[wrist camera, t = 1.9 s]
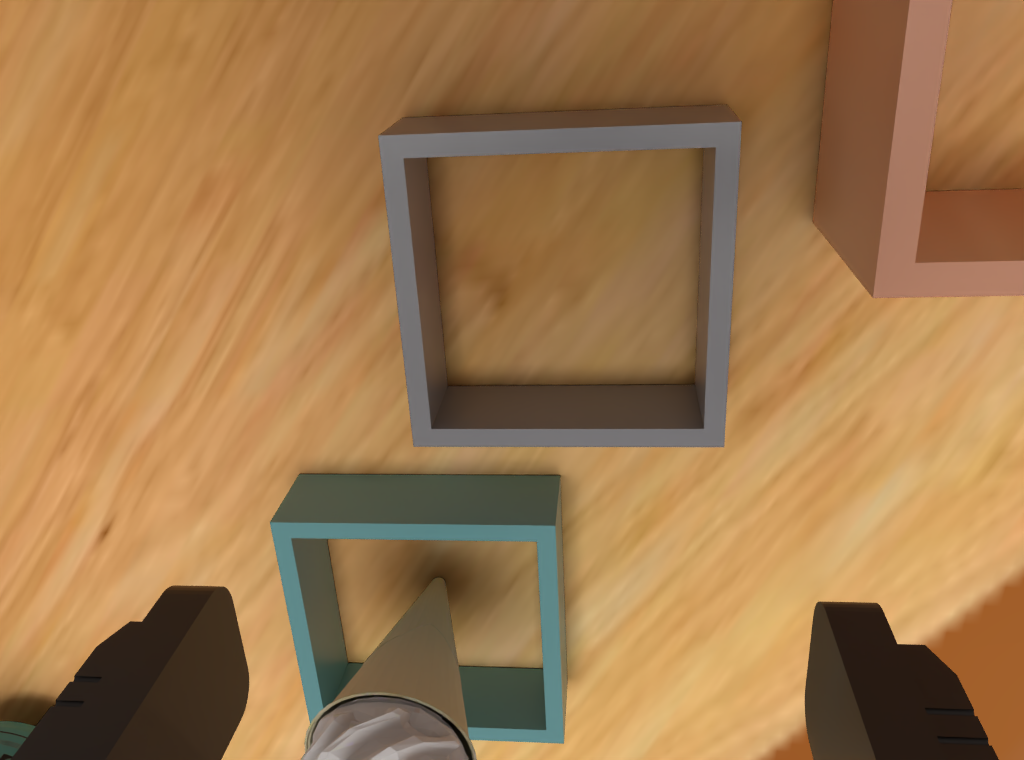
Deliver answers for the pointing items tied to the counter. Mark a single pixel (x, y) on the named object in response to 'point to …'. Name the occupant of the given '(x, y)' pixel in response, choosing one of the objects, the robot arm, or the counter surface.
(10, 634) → the counter surface
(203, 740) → the robot arm
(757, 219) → the counter surface
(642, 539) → the counter surface
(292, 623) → the crate
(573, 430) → the frame
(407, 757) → the ice cream cone
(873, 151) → the bin
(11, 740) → the beverage bottle
